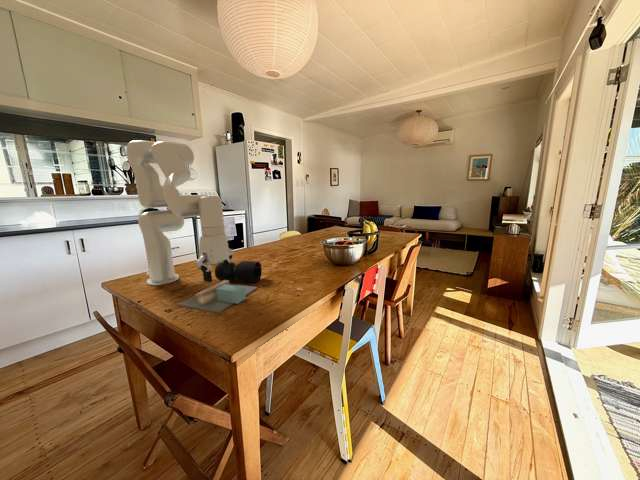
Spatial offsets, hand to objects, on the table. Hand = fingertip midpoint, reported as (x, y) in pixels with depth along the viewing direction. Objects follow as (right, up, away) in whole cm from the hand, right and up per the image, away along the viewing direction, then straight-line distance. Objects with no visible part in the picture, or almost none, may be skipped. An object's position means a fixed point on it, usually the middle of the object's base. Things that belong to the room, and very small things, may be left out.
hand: (218, 277), depth 93 cm
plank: (-2, -8, +3) cm, 9 cm away
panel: (-1, -8, +4) cm, 9 cm away
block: (+1, -6, +1) cm, 6 cm away
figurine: (+1, -5, +20) cm, 21 cm away
